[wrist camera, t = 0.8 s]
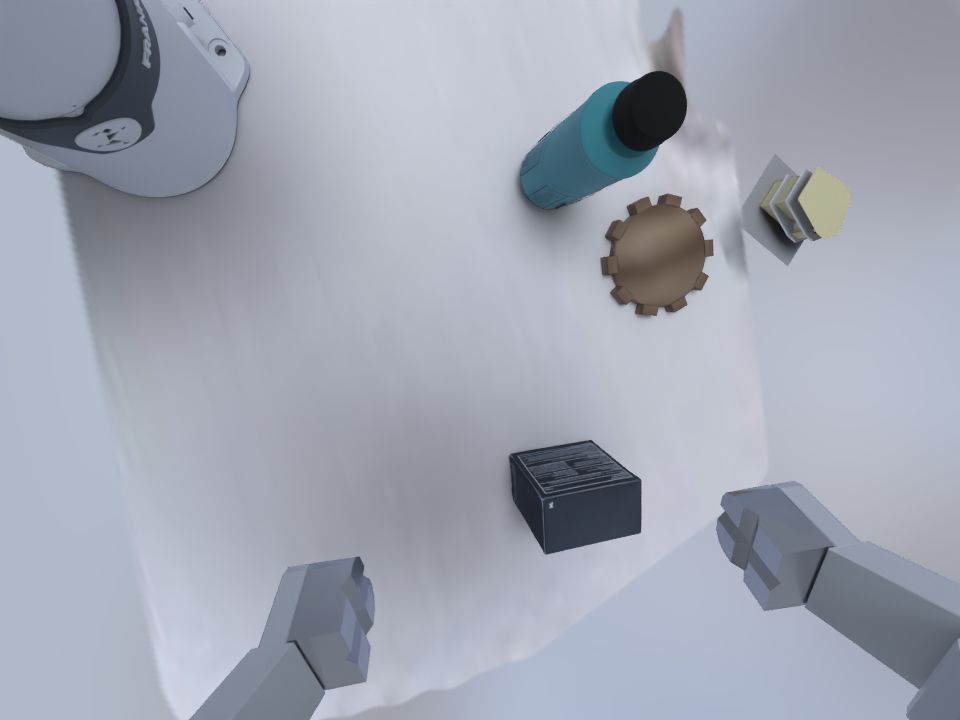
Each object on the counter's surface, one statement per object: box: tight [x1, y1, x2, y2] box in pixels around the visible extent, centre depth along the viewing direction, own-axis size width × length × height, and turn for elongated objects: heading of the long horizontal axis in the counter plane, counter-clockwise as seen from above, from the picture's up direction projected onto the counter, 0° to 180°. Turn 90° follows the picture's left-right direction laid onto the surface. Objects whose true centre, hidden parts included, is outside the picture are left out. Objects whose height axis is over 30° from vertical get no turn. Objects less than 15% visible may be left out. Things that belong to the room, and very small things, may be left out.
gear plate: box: [601, 194, 713, 316], centre depth 48 cm, size 13×13×2 cm
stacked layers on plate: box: [741, 154, 851, 266], centre depth 49 cm, size 10×9×6 cm
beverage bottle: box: [520, 71, 687, 210], centre depth 35 cm, size 6×7×20 cm
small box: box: [510, 440, 641, 555], centre depth 46 cm, size 11×6×10 cm, turn 95°
